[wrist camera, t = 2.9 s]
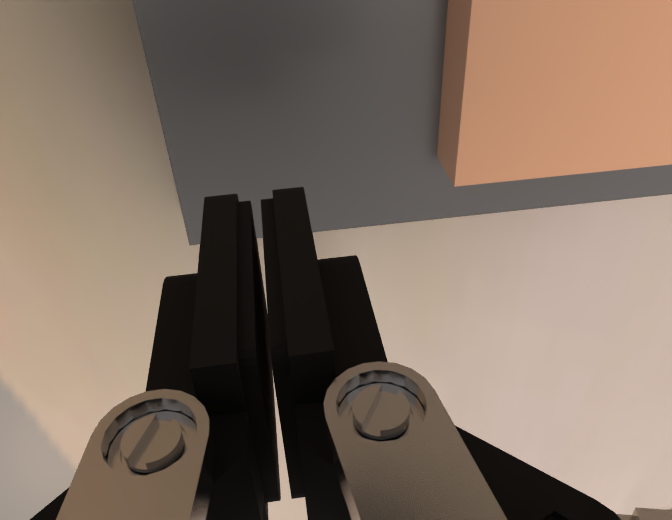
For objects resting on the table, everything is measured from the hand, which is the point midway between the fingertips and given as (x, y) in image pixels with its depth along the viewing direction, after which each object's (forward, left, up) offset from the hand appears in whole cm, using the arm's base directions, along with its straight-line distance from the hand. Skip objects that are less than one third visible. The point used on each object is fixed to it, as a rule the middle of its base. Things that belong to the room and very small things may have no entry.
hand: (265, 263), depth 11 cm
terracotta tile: (-1, +9, -9) cm, 13 cm away
